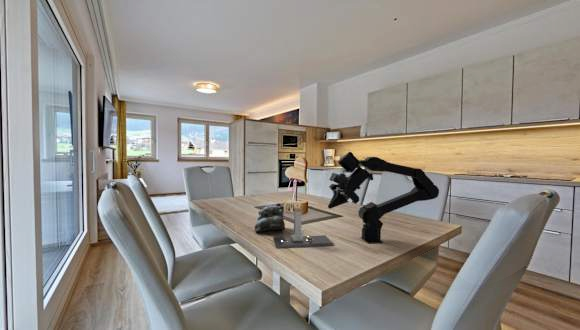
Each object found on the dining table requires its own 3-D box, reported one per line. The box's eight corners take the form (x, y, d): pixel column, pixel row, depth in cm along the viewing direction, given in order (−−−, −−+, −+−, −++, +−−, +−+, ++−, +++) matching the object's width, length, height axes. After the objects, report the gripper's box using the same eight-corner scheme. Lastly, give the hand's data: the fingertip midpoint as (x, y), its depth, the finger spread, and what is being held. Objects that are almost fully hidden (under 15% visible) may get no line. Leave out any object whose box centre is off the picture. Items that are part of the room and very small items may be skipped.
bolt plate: (325, 237, 99) (325, 231, 99) (332, 245, 90) (332, 238, 90) (273, 239, 95) (273, 233, 95) (275, 248, 86) (275, 241, 86)
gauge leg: (301, 237, 95) (301, 207, 94) (303, 241, 90) (304, 209, 90) (291, 237, 94) (291, 207, 94) (293, 241, 90) (293, 209, 89)
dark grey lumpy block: (248, 232, 104) (249, 202, 110) (264, 236, 113) (265, 208, 119) (275, 227, 97) (276, 195, 103) (291, 232, 106) (290, 203, 112)
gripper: (334, 165, 104) (309, 190, 102) (352, 167, 85) (322, 197, 84) (350, 183, 105) (326, 208, 104) (371, 188, 87) (342, 218, 85)
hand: (328, 207), depth 94 cm, fingers closed
